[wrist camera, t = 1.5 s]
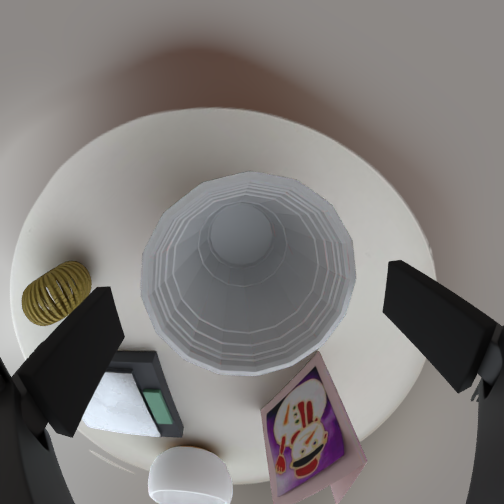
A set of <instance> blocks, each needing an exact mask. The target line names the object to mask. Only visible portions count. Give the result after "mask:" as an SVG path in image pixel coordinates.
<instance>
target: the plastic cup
mask: <svg viewBox="0 0 504 504" xmlns="http://www.w3.org/2000/svg"><path fill="white" fill-rule="evenodd" d="M355 281H356V271H355V260H354V250H353V242H352V239H351V237H350V235H349V233H348V231H347V230H346V228H345V226H344V224H343V223H342V221H341V219H340V217H339V216H338V214H337V212H336V210H335V209H334V207H333V205H332V204H330V203H329V202H328V201H326V200H325V199H323V198H322V197H321V196H319V195H318V194H317V193H315V192H314V191H312V190H311V189H309V188H308V187H307V186H305V185H304V184H302V183H301V182H299V181H298V180H296V179H291V178H286V177H281V176H276V175H271V174H266V173H260V172H254V171H247V172H243V173H238V174H234V175H230V176H226V177H222V178H218V179H214V180H210V181H206V182H202V183H201V184H199V185H198V186H197V187H196V188H194V189H193V190H192V191H190V192H189V193H188V194H186V195H185V196H184V197H183V198H181V199H180V200H179V201H177V202H176V203H175V204H174V205H172V206H171V207H170V208H169V209H167V210H166V211H165V212H164V213H163V215H162V216H161V218H160V220H159V222H158V224H157V226H156V228H155V230H154V232H153V234H152V235H151V237H150V239H149V241H148V243H147V245H146V247H145V249H144V251H143V253H142V273H141V298H142V300H143V303H144V305H145V308H146V310H147V313H148V315H149V317H150V320H151V322H152V324H153V327H154V329H155V331H156V333H157V334H158V335H159V336H160V337H161V338H162V339H163V340H164V341H165V342H166V343H167V344H168V345H169V346H170V347H171V348H172V349H173V350H174V351H175V352H176V353H177V354H178V355H179V356H180V357H181V358H183V359H184V360H186V361H188V362H190V363H192V364H195V365H197V366H200V367H202V368H204V369H207V370H209V371H212V372H214V373H217V374H222V375H239V376H259V375H263V374H266V373H270V372H273V371H277V370H280V369H284V368H287V367H290V366H293V365H294V364H296V363H298V362H299V361H301V360H302V359H303V358H305V357H306V356H308V355H309V354H311V353H312V352H314V351H315V350H317V349H318V348H319V347H321V346H322V345H323V344H324V343H325V342H326V341H327V339H328V338H329V337H330V335H331V334H332V333H333V331H334V330H335V329H336V327H337V326H338V325H339V323H340V322H341V320H342V319H343V318H344V316H345V315H346V312H347V309H348V305H349V302H350V299H351V295H352V292H353V288H354V285H355Z"/></svg>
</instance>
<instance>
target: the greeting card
mask: <svg viewBox="0 0 504 504" xmlns="http://www.w3.org/2000/svg"><path fill="white" fill-rule="evenodd" d="M261 417H262V424H263V432H264V440H265V447H266V455H267V462H268V469H269V477H270V483H271V490H272V498H273V504H295V503H297V502H299V501H301V500H303V499H305V498H307V497H309V496H311V495H313V494H315V493H317V492H318V491H320V490H322V489H324V488H326V487H327V486H329V485H330V486H331V489H332V493H333V496H334V500H335V503H336V504H338V503H339V502H340V501H341V499H342V498H343V497H344V495H345V494H346V493H347V491H348V490H349V488H350V487H351V485H352V484H353V483H354V481H355V480H356V478H357V477H358V475H359V474H360V472H361V471H362V469H363V468H364V466H365V464H366V463H367V459H366V457H365V454H364V452H363V450H362V447H361V445H360V442H359V440H358V438H357V435H356V433H355V431H354V429H353V426H352V424H351V422H350V419H349V417H348V415H347V412H346V410H345V408H344V406H343V403H342V401H341V399H340V396H339V394H338V392H337V390H336V387H335V385H334V383H333V381H332V379H331V376H330V374H329V372H328V370H327V367H326V365H325V363H324V361H323V359H322V356H321V354H320V352H319V351H318V352H317V353H316V355H315V356H314V357H313V358H312V359H311V360H310V361H309V362H308V363H307V364H306V365H305V367H304V368H303V369H302V370H301V371H300V372H299V373H298V374H297V375H296V376H295V377H294V378H293V379H292V380H291V381H290V382H289V383H288V384H287V385H286V386H285V387H284V388H283V389H282V390H281V391H280V392H279V393H278V394H277V395H276V396H275V397H274V398H273V399H272V400H271V401H270V402H269V403H268V404H267V405H266V406H265V407H264V408H263V409H262V410H261Z"/></svg>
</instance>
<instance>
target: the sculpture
mask: <svg viewBox="0 0 504 504" xmlns="http://www.w3.org/2000/svg"><path fill="white" fill-rule="evenodd" d="M74 273H75V274H74ZM71 277H72V278H73V280H74V282H75V284H76V285H74V282H73V280H72V278H71ZM56 280H57V282H58V284H59V285H61V286H60V287H61V289H62V291H63V293H62V291H61V290H60V287H59V286H58V284H57V282H56ZM65 282H66V283H65ZM68 284H69V285H70V286H69V285H68ZM91 285H92V283H91V276H90V274H89V272H88V270H87V269H86V267H84V266H83V265H82V264H81V263H78V262H76V261H67V262H64V263H62V264H60V265H58V266H57V267H55V268H53V269H52V270H50V271H49V272H47V273H45V274H44V275H43V276H41V277H40V278H38V279H37V280H35V281H33V282H32V283H31V284H30V285H28V286H27V287H26V289H25V290H24V292H23V295H22V307H23V308H22V309H23V312H24V313H25V315H26V317H27V318H28V319H29V320H30V321H31V322H32V323H34V324H36V325H40V326H47V325H51V324H53V323H56V322H58V321H60V320H61V319H63V318H65V317H66V316H68V314H70V313H71V312H72V311H73V310H74V309H75V308H76V307H77V306H78V305H79V304H80V303H81V302H82V301H83V300H84V299H85V298H86V297H87V296H88V295H89V294H90V291H91ZM46 287H47V288H48V290H49V292H50V294H51V296H52V298H53V299H54V301H55V302H56V304H55V303H54V301H53V300H52V299H51V297H50V296H49V293H48V292H47V289H46ZM70 287H71V289H72V293H73V296H72V293H71V289H70ZM46 299H47V300H46ZM37 301H38V302H37ZM38 303H39V304H38ZM33 304H34V305H33ZM39 305H40V306H41V308H43V310H42V309H41V308H40V306H39ZM34 306H35V307H34ZM46 306H47V307H48V308H49V309H50V310H51V311H50V310H49V309H48V308H47V307H46ZM35 308H36V309H35Z"/></svg>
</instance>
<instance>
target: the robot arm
mask: <svg viewBox="0 0 504 504" xmlns="http://www.w3.org/2000/svg"><path fill="white" fill-rule="evenodd" d="M383 313H384V314H385V315H386V316H387V317H388V318H389V319H390V320H391V321H392V322H393V323H394V324H395V325H396V326H397V327H398V328H399V329H400V330H401V332H402V333H403V334H404V335H405V336H406V337H407V338H408V339H409V340H410V341H411V342H412V343H413V344H414V345H415V346H416V347H417V348H418V349H419V351H420V352H421V353H422V354H423V355H424V356H425V357H426V358H427V359H428V360H429V361H430V363H432V365H433V366H434V367H435V368H436V369H437V370H438V371H439V372H440V374H441V375H442V376H443V377H444V378H445V379H446V380H447V381H448V383H449V384H450V385H451V386H452V387H453V388H454V390H455V391H456V392H457V393H460V392H462V391H464V390H465V389H467V388H469V387H471V386H472V383H473V381H474V379H475V377H476V375H477V373H478V374H479V375H480V376H481V377H482V378H481V380H480V382H479V384H478V386H477V388H476V390H475V392H474V394H473V396H472V398H471V401H473V400H474V398H475V397H476V395H478V394H479V397H478V399H477V402H479V408H478V431H477V443H476V453H475V460H474V467H473V473H472V478H471V483H470V488H469V493H468V497H467V501H466V504H504V326H501V325H500V324H498V323H497V322H495V321H494V320H493V319H491V318H490V317H489V316H487V315H486V314H485V313H483V312H481V311H480V310H479V309H477V308H475V307H474V306H473V305H471V304H470V303H468V302H467V301H465V300H464V299H462V298H461V297H459V296H458V295H456V294H455V293H453V292H452V291H450V290H449V289H447V288H446V287H444V286H443V285H441V284H439V283H438V282H436V281H435V280H433V279H432V278H430V277H428V276H427V275H425V274H423V273H422V272H420V271H419V270H417V269H415V268H414V267H412V266H410V265H409V264H407V263H405V262H404V261H402V260H397V261H389V263H388V273H387V283H386V291H385V299H384V306H383ZM124 337H125V336H124V333H123V330H122V327H121V323H120V320H119V317H118V313H117V310H116V306H115V303H114V299H113V295H112V292H111V288H110V287H97V288H96V289H95V290H93V291H92V292H91V293H90V294H89V295H88V296H87V297H86V298H85V299H84V300H83V301H82V302H81V303H80V304H79V305H78V306H77V307H76V308H75V309H74V310H73V311H72V312H71V313H70V314H69V315H68V316H67V317H66V318H65V320H64V321H63V322H62V323H61V324H60V325H59V326H58V327H57V328H56V329H55V330H54V331H53V332H52V333H51V334H50V335H49V337H48V338H47V339H46V340H45V341H43V342H42V343H41V344H40V345H39V346H38V347H37V348H36V349H35V350H34V352H33V353H32V354H31V355H30V356H29V358H27V359H26V361H25V362H24V363H23V364H22V365H21V367H20V368H19V369H18V370H17V371H16V372H15V374H14V375H13V376H12V377H11V376H10V374H9V373H8V371H7V369H6V367H5V365H4V363H3V362H2V360H1V358H0V504H75V503H74V501H73V499H72V497H71V494H70V492H69V490H68V487H67V485H66V482H65V480H64V477H63V475H62V472H61V469H60V466H59V464H58V461H57V458H56V455H55V452H54V448H53V445H52V442H51V438H50V435H49V433H48V431H47V430H46V429H45V427H46V425H47V423H48V422H49V424H50V425H51V426H52V428H53V429H54V430H55V432H56V433H58V434H62V435H65V436H68V437H73V436H74V434H75V432H76V430H77V427H78V425H79V423H80V421H81V419H82V417H83V415H84V413H85V411H86V409H87V407H88V405H89V403H90V401H91V399H92V397H93V395H94V393H95V391H96V389H97V387H98V385H99V383H100V381H101V379H102V377H103V375H104V374H105V372H106V370H107V368H108V366H109V364H110V362H111V361H112V359H113V357H114V355H115V353H116V352H117V350H118V348H119V346H120V344H121V343H122V341H123V339H124Z"/></svg>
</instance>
